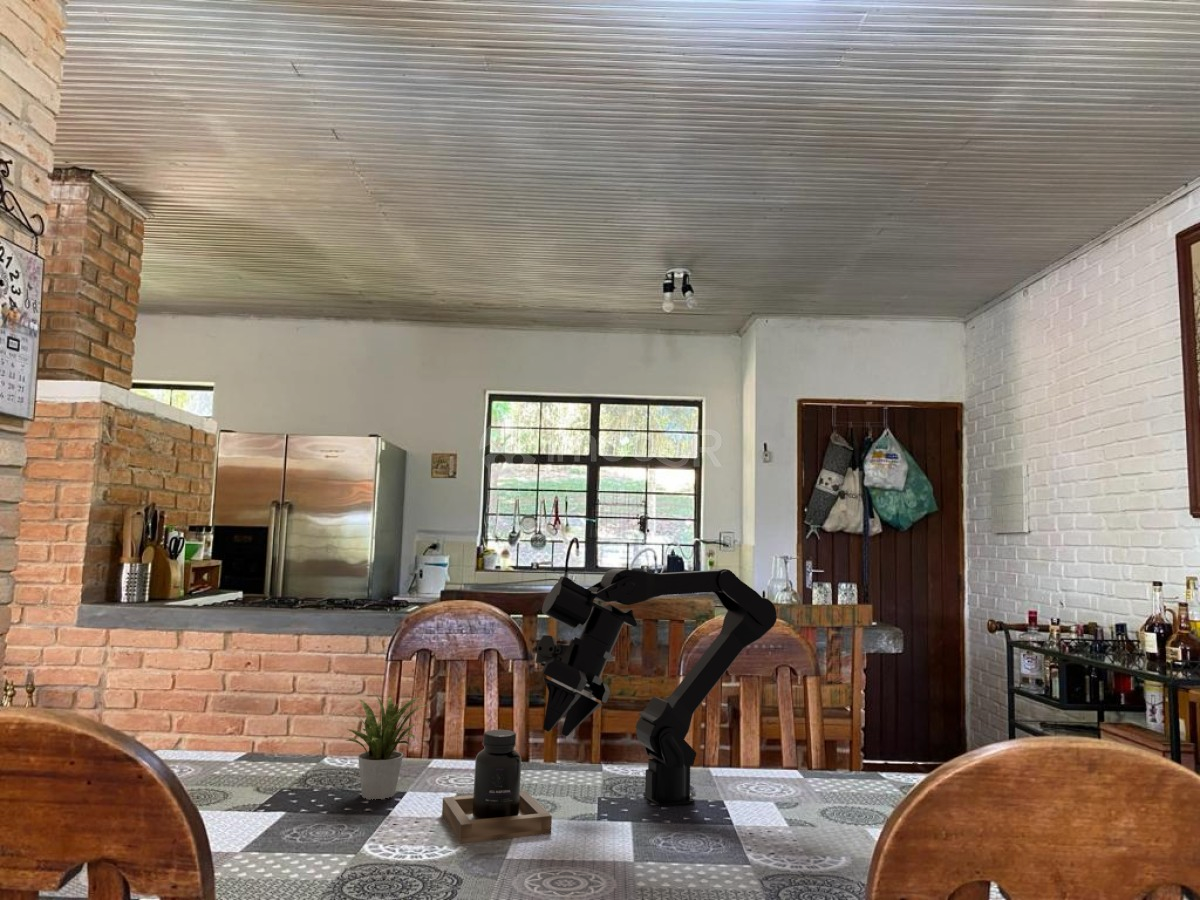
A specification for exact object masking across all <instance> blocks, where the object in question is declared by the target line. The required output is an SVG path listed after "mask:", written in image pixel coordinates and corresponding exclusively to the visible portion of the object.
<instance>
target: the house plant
mask: <svg viewBox="0 0 1200 900" xmlns="http://www.w3.org/2000/svg"><path fill="white" fill-rule="evenodd" d="M373 694H374V695H375V697H376V699H377V701H378V702H379V708H380V713H381V714H380V715H381V720H379V721H378V722H377V718H376V715H375V713H374V711H373V708H371V707H370V706H369V704H367V703H366V702H365V701H364V700H363V699H360V698H358V700H359V701H360V703H361V705H362V708H363V710H364V712H365V715H366V718H365V720H364V721H363V720H361V722H362V723H363V724H364V728H362V731H364V732H365V733H364V732H361V731H359V730H356V729H349V728H347V731H349V732H351V733H353V734H354V735H355V736H356V737H359V738H360V739H362V740H363V741H364V742H365V744H366V745H367V746H368V751H367V748H366V747H365V745H364V744H363V743H362V742H360V741H359V740H357V739H355V738H348V739H346V740H345V742H353V743H356V744H358V745H360V746H361V747H362V748H363V749H364V750H365V752H364V751H363V752H361V753H360V754H358V756H357V757H358V758H357V759H358V769H359V779H360V789H361V790H360V791H361V792H360V793H361V797H362V798H363V799H365V798H366V799H365V800H369V801H372V800H373V799H375V801H377V800H376V799H381V800H386V799H385V798H388V799H390V798H389V797H391V798H393V797H394V796H395V795H396V791H397V785H398V782H399V776H400V772H401V767H402V764H403V763H402V762H403V757H404V754H403V752H401V751H397V750H395V749H396V747H397V746H398V744H406V745H409V746H410V747H411V744H410V742H409V741H408V740H402V739H403V738H404V737H409V738H412V739H413V740H415V735H414V734H413V733H410V730H411V729H412V728H413V727H415V726H417V725H419V723H415V724H411V725H409V726H408V727H406V728H405V729H403V727H404V726H405V724H406V722H407V721H408V719H410V717H411V716H412V714H414V713H416V712H417V711H418V710H419V709H420V710H421V709H423V708H424V707H426V706H427V707H428V706H431V705H428V704H419V705H417V706H414V707H413V708H412V709H410V710H409V711H408V712H407V713H406V714H405V715H404V717H403V714H404V713H405V711H406V710H408V708H409V707H410V706H412V705H413V703H415V702H416V701H418V700H419V699H423V698H424V696H421V697H415V698H413V699H411V700H409V701H407V703H405V704H404V705H403V706H402V707H400V708H398V707H399V704H402V703H403V702H401V701H400V702H399V703H396V704H394V701H393V698H392V697H391V696H388V699H387V704H386V710H385V708H384V703H383V701H382V699H381V698H380V695H379V693H377V694H378V695H377V694H376V693H375V692H373ZM394 705H395V706H394ZM340 707H343V706H340ZM344 708H345V709H348V710H349V711H351V712H352V713H354V714H355V715H356V716H357V718H359V719H361V717H360V716H359V715H358V714H357V713H356V712H354V710H351V709H350V708H348V707H346V706H345V707H344ZM397 708H398V709H397ZM401 717H403V718H402V719H401ZM400 719H401V721H400ZM399 721H400V722H399ZM398 723H399V724H398ZM400 732H401V734H400ZM407 732H408V733H409V734H407ZM399 734H400V735H399ZM397 737H398V738H397ZM392 796H393V797H392ZM371 799H372V800H371ZM373 801H374V800H373Z"/></svg>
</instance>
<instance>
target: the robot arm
mask: <svg viewBox="0 0 1200 900" xmlns="http://www.w3.org/2000/svg"><path fill="white" fill-rule="evenodd" d="M700 593H701V594H703V593H704V594H705V593H713V594H714V595H715V597H716V598H717V600H718V601H719V603H720V605H721V606H722V607H723V608H724V609H725V610H726V611H727V612H726V614H725V615H724V617H723V622H722V627H721V631H720V632H719V634H718V635H717V636H716V638H715V639H714V640H713V641H712V643H711V644H710V645H709V646H708V647H707V649H706V650H705V651H704V652H703V654H702V655H701V656H700V658H698V660H697V662H696V663H695V664H694V665H693V666H692V667H691V669H690V670H689V671H688V673H687V674H686V675H685V676H684V678H683V679H682V680H681V682H680V683H679V684H678V685H677V687H676V688H675V690H674V689H673V692H672V693H671V694H670V695H669V696H667V697H665V698H664V699H661V698H659V697H657V696H653V697H652V698H651V699H650V701H649V703H648V704H647V705H646V707H645V708H644V709H643V710H642V711H640V712H639V713H638V714H637V715H638V716H639V719H638V720H637V722H636V724H635V732H636V733H635V735H636V738H637V740H638V742H639V743H640V744H641V745H643V747H644V750H645V753H646V755H647V756H648V757H651V758H648V761H647V763H648V765H647V766H648V767H647V768H646V770H645V783H644V784H645V790H644V791H643V793H642V794H643V797H645V798H647V800H649V801H651V802H652V803H654V804H656V805H657V806H658V807H665V806H675V805H686V804H687V805H688V804H695V803H696V800H695V798H694V797H691V767H692V766H694V764H695V761H696V757H697V752H696V751H695V750H694V748H693V747H692V746H691V745H690V744H689V743H688V742H687V741H686V740H685V739H686V737H687V735H688V733H689V731H690V727H691V724H692V719H693V716H694V714H695V712H696V710H697V709H698V708H699V707H700V705H701V704H702V702H703V701H704V700H705V698H707V696H708V695H709V694H710V692H711V691H712V690H713V689H714V687H715V686H716V685H717V683H718V682H719V681H720V679H721V678H722V677H723V675H725V673H726V672H727V671H728V669H729V668H730V666H731V665H732V664H733V662H735V661H736V659H737V657H738V656H739V655H740V654H741V652H743V650H744V649H745V648H746V647H748V646H750V645H751V644H753V643H755V642H757V641H759V640H760V639H762V637H764V636H765V635H766V634H767V633H768V632H769V631H770V630H771V629H772V628H773V627H774V626H775V624H776V622H777V619H778V617H777V610H776V607H775V605H774V604H773V602H772V601H771V600H770V599H768V598H765V597H762V596H761V595H760V594H759V593H758V591H756V590H754V589H753V588H752V587H751V586H749V585H748V584H746V582H744V581H742V580H741V579H740V578H739V577H738V576H737V575H736V574H735V573H734V572H733V571H731V570H730V569H726V568H712V569H710V570H696V571H695V570H694V571H679V572H676V571H675V572H660V573H658V572H657V573H656V572H649V571H643V570H635V569H625V568H612V569H609V570H607V571H606V572H605V574H604V575H603V576H602V578H601V579H600V581H599V582H596V583H595V584H593V585H591V586H589V587H588V588H585V587H583V586H582V585H580V584H577V583H576V582H574V581H573V580H572V579H571V578H569V577H566V576H563V575H561V576H560V577H559V579H558V582H556V583H555V584H554V586H553V587H552V588H551V589H550V591H549V592H548V593H547V594H546V596H545V599H544V601H543V605H542V607H541V613H542V614H544V615H546V616H547V617H549V618H551V619H553V620H555V621H557V622H559V623H562V624H563V625H565V626H567V627H569V628H571V629H575V628H576V627H578V626H583V625H584V626H583V628H582V630H581V633H580V635H579V637H576V636H574V638H572V639H571V641H570V642H569V644H562V643H558V642H557V641H556V637H554V636H552V635H542V637H541V639H540V640H539V641H537V642H536V645H535V647H534V648H533V650H534V651H533V652H535V653H536V656H535V657H536V658H535V664H540V666H541V667H543V668H542V670H541V672H540V673H541V674H543V675H544V676H542V677H543V678H542V680H543V681H544V683H545V685H546V689H547V690H548V696H547V703H546V710H545V713H544V714H545V715H544V719H543V720H544V721H543V726H542V729H543V730H544V731H546V732H548V733H549V732H550V731H552V730H553V729H554V728H555V726H556V725H557V724H558V723H559V722H560V721H561V719H562V718H563V717H564V716H565V718H564V721H563V724H562V729H561V735H562V736H565V737H568V736H569V735H571V734H572V733H573V732H574V731H575V730H576V728H578V727H579V726H580V725H581V724H582V723H583V722H584V721H586V720H587V719H588V718H589V717H590V716H592V715H593V713H594V712H596V711H597V710H598V709H599V708H601V707H602V706H603V704H602V703H600V702H603V703H605V704H606V703H607V701H608V699H609V697H610V695H611V691H610V688H609V685H608V684H606V683H605V682H603V679H602V678H601V676H602V673H603V672H604V669H605V667H606V665H607V662H612V660H613V657H614V656H613V654H611V653H612V651H613V649H614V646H615V645H616V642H617V640H618V637H619V636H620V633H621V630H622V628H623V626H624V625H626V626H629V627H637V626H638V623H637V620H636V618H635V616H634V611H633V610H632V609H628V608H627V609H625V610H622V609H620V608H619V607H616V606H614V605H612V604H619V605H623V606H624V605H627V606H630V605H634V604H638V603H642V602H646V601H649V600H651V599H654V598H657V597H661V596H671V595H673V596H674V595H685V594H686V595H687V594H700ZM594 601H598V602H604V603H605V602H606V603H612V604H606V605H605V606H604V607H603V606H601V605H600V604H597V603H595V602H594ZM545 676H547V677H549V678H551V679H549V678H547V677H545ZM596 700H599V701H600V702H599V701H596Z"/></svg>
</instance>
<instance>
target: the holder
mask: <svg viewBox="0 0 1200 900" xmlns="http://www.w3.org/2000/svg"><path fill="white" fill-rule="evenodd" d="M441 811H442V812H441V815H442V816H444V817H443V818H444V820H445V822H446V823H447V824H448V827H449V828H450V829H451V830H452V833H454V835H456V836H455V837H456V839H457V840H458V842H459V843H460V844H467V843H476V842H484V841H485V842H486V840H487V841H494V840H503V839H513V838H514V839H515V838H521V837H522V838H523V836H524V837H531V836H532V835H533V836H541V834H543V835H550V834H552V822H553V820H552V818H553V816H552V814H551V813H550V812H548V810H546V809H545V808H544V807H543V806H542V805H541V804H540V803H539V802H538V801H537V800H536V799H535V798H534V797H533V796H532V795H530V793H528V791H527V790H520V801H519V815H518V816H508V817H498V818H488V819H477V820H476V819H475V818H474V817H473V794H469V795H458V796H445V797H442V809H441ZM539 834H540V835H539ZM466 842H467V843H466Z"/></svg>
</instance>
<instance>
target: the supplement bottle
mask: <svg viewBox="0 0 1200 900" xmlns="http://www.w3.org/2000/svg"><path fill="white" fill-rule="evenodd" d="M516 741H517V733H516V732H515V731H513V730H509V729H508V730H507V729H490V730H486V731H484V732H483V741H482V746H483V749H482V750H480V751H478V753H477V754H476V757H475V761H474V763H475V764H474V777H473V778H474V779H473V781H474V782H473V792H472V793H473V794H472V795H473V817H474V818H475V819H476V820H477V819H488V818H498V817H508V816H518V815H519V801H520V791H521V779H522V756H521V754H520V752H518V751H517V750H516V749H515V747H516V746H517V742H516Z"/></svg>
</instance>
